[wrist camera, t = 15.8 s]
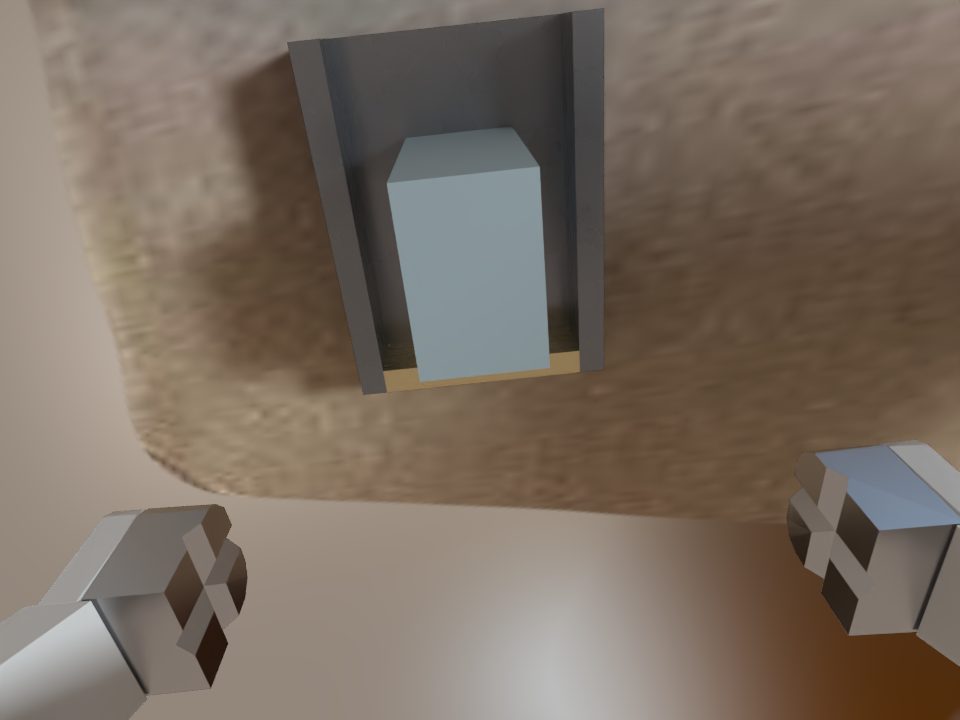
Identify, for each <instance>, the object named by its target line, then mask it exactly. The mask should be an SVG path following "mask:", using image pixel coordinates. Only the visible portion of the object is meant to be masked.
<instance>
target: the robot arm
mask: <svg viewBox="0 0 960 720" xmlns="http://www.w3.org/2000/svg"><path fill="white" fill-rule="evenodd" d="M794 475H795V477H796V478H797V480H798V481H799V482H800V484H801V485H802V486H803V487H802V488H801V489H800V490H799V491H798V492H797V493H796V494H795V495H794V496H793V497H792V498H791V499H790V500H789V506H788V513H787V524H788V530H789V537H790V540H791V542H792V545H793V547H794V550H795V552H796V554H797V556H798V557H799V559H800V561H801V562H802V564H803V565H804V567H805V568H807V569H809V570H810V571H812V572H814V573H816V574H817V575H819V576H820V577H822V578H824V582H823V587H822V592H821V594H822V595H823V597H824V598H825V600H826V601H827V603H828V604H829V606H830V608H831V609H832V611H833V612H834V614H835V615H836V617H837V619H838V620H839V622H840V623H841V625H842V626H843V628H844V629H845V631H846V632H847V634H848V635H865V634H866V635H867V634H885V633H903V632H917V634H916V635H917V636H918V637H920V638H921V639H923V640H924V641H925V642H927V643H928V644H929V645H931V646H932V647H933V648H935V649H936V650H938V651H939V652H940V653H942V654H943V655H944V656H946V657H947V658H949V659H950V660H952V661H953V662H954V663H956V664H957V665H958V666H960V473H959V472H958V471H957V470H956V469H955V468H954V467H952V466H951V465H950V464H949V463H948V462H947V461H946V460H945V459H943V458H942V457H941V456H940V455H939V454H938V453H937V452H936V451H934V450H933V449H932V448H931V447H930V446H929V445H928V444H925V443H923V442H920V441H918V440H907V441H898V442H889V443H880V444H877V445H869V446H858V447H848V448H837V449H827V450H816V451H806V452H803V453H802V454H801V456H800V457H799V459H798V460H797V464H796V469H795V474H794ZM231 526H232V524H231V522H230V520H229V518H228V515H227V513H226V510H225V508H224V507H222V506H219V505H217V504H211V505H197V506H182V507H167V508H152V509H147V510H132V511H116V512H112V513H110V514H108V515H106V516H104V517H103V518H102V519H101V521H100V522H99V523H98V525H97V526H96V527H95V529H94V530H93V531H92V533H91V534H90V535H89V537H88V538H87V540H86V541H85V542H84V544H83V545H82V546H81V548H80V549H79V551H78V552H77V553H76V554H75V556H74V557H73V558H72V560H71V561H70V563H69V564H68V565H67V566H66V568H65V569H64V571H63V572H62V573H61V575H60V576H59V577H58V579H57V580H56V581H55V583H54V584H53V585H52V587H51V588H50V589H49V591H48V592H47V594H46V595H45V596H44V597H43V599H42V600H41V601H40V603H39V604H38V605H36V606H26V607H24V608H23V609H21V610H20V611H18V612H17V613H15V614H14V615H12V616H11V617H9V618H8V619H6V620H5V621H3V622H2V623H0V720H128V719H129V718H130V717H131V716H132V715H133V714H134V713H135V712H136V711H137V710H138V709H139V707H140V706H141V705H142V704H143V703H144V702H145V701H146V700H147V698H146V696H149V695H158V694H167V693H176V692H185V691H193V690H202V689H211V687H212V684H213V682H214V679H215V676H216V674H217V671H218V668H219V666H220V663H221V661H222V658H223V655H224V653H225V650H226V648H227V645H228V642H227V639H226V637H225V635H224V632H223V629H224V628H225V627H226V626H228V625H229V624H230V623H231V622H232V621H233V620H234V619H235V618H236V617H237V616H238V615H239V614H240V611H241V608H242V605H243V602H244V600H245V594H246V586H247V570H246V562H245V559H244V556H243V554H242V550H241V548H240V547H238V546H237V545H236V544H234V543H233V542H231V541H230V540H229V539H227V538H226V537H227V535H228V533H229V530H230V528H231Z"/></svg>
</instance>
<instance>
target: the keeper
mask: <svg viewBox="0 0 960 720" xmlns="http://www.w3.org/2000/svg"><path fill="white" fill-rule="evenodd" d="M287 44H288V49H289V53H290V58H291V63H292V67H293V72H294V77H295V81H296V86H297V91H298V95H299V100H300V104H301V109H302V114H303V118H304V123H305V128H306V132H307V137H308V142H309V146H310V151H311V155H312V160H313V165H314V169H315V174H316V179H317V183H318V188H319V192H320V197H321V202H322V206H323V211H324V216H325V220H326V225H327V230H328V234H329V239H330V243H331V248H332V253H333V257H334V262H335V267H336V271H337V276H338V281H339V285H340V290H341V294H342V299H343V304H344V308H345V313H346V318H347V322H348V327H349V332H350V336H351V341H352V345H353V350H354V355H355V359H356V364H357V369H358V373H359V378H360V382H361V387H362V392H363V395H366V394H376V393H385V392H395V391H404V390H414V389H424V388H433V387H443V386H452V385H462V384H472V383H481V382H491V381H500V380H510V379H519V378H529V377H539V376H548V375H558V374H567V373H577V372H587V371H596V370H604V8H602V9H593V10H584V11H574V12H568V13H563V14H556V15H547V16H538V17H529V18H519V19H510V20H501V21H491V22H482V23H473V24H463V25H454V26H445V27H435V28H426V29H417V30H408V31H398V32H389V33H380V34H370V35H361V36H352V37H342V38H333V39H314V40H304V41H295V42H287ZM510 126H512V127H513V129H514V130H515V131H516V133H517V134H518V136H519V137H520V139H521V140H522V142H523V143H524V144H525V146H526V147H527V149H528V150H529V152H530V153H531V155H532V156H533V157H534V159H535V160H536V162H537V163H538V165H539V166H540V182H541V202H542V221H543V241H544V260H545V280H546V299H547V319H548V338H549V358H550V368H545V369H536V370H526V371H517V372H508V373H499V374H489V375H480V376H471V377H461V378H452V379H443V380H434V381H424V382H420V379H419V374H418V368H417V362H416V356H415V350H414V344H413V338H412V332H411V326H410V320H409V314H408V308H407V302H406V296H405V290H404V284H403V278H402V272H401V266H400V260H399V254H398V248H397V242H396V236H395V230H394V224H393V218H392V212H391V206H390V200H389V194H388V188H387V181H388V179H389V177H390V174H391V172H392V170H393V167H394V165H395V163H396V160H397V158H398V155H399V153H400V151H401V148H402V146H403V144H404V141H405V139H406V138H411V137H420V136H429V135H438V134H447V133H456V132H465V131H474V130H483V129H492V128H501V127H510Z"/></svg>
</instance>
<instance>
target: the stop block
mask: <svg viewBox="0 0 960 720" xmlns="http://www.w3.org/2000/svg"><path fill="white" fill-rule="evenodd" d="M387 188H388V194H389V200H390V206H391V212H392V218H393V224H394V230H395V236H396V242H397V248H398V254H399V260H400V266H401V272H402V278H403V284H404V290H405V296H406V302H407V308H408V314H409V320H410V326H411V332H412V338H413V344H414V350H415V356H416V362H417V368H418V374H419V379H420V382H424V381H434V380H443V379H452V378H461V377H471V376H480V375H489V374H499V373H508V372H517V371H526V370H536V369H545V368H550V358H549V338H548V319H547V299H546V280H545V260H544V241H543V221H542V202H541V182H540V166H539V165H538V163H537V162H536V160H535V159H534V157H533V156H532V155H531V153H530V152H529V150H528V149H527V147H526V146H525V144H524V143H523V142H522V140H521V139H520V137H519V136H518V134H517V133H516V131H515V130H514V129H513V127H512V126H510V127H501V128H492V129H483V130H474V131H465V132H456V133H447V134H438V135H429V136H420V137H411V138H406V139H405V141H404V144H403V146H402V148H401V151H400V153H399V155H398V158H397V160H396V163H395V165H394V167H393V170H392V172H391V174H390V177H389V179H388V181H387Z"/></svg>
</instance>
